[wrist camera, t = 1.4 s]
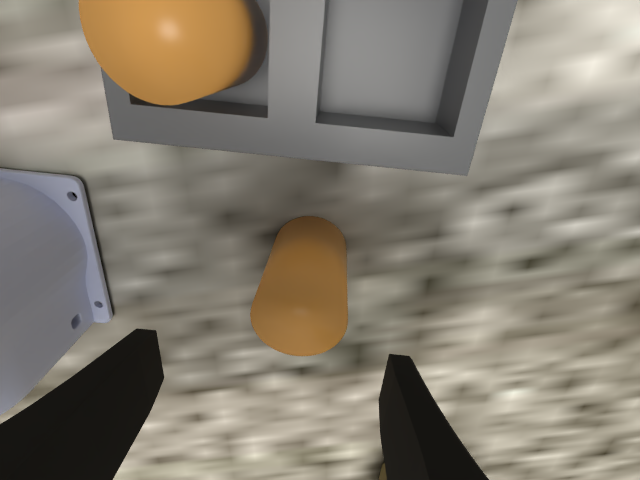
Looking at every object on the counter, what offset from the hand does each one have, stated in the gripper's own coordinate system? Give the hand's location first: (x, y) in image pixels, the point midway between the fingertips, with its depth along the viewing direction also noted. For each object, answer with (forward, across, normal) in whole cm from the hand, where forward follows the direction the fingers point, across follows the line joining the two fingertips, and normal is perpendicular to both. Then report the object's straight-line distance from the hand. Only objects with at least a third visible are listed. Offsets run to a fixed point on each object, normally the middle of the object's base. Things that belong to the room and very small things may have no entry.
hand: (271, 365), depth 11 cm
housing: (+10, 0, -9) cm, 13 cm away
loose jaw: (+10, 0, +1) cm, 10 cm away
